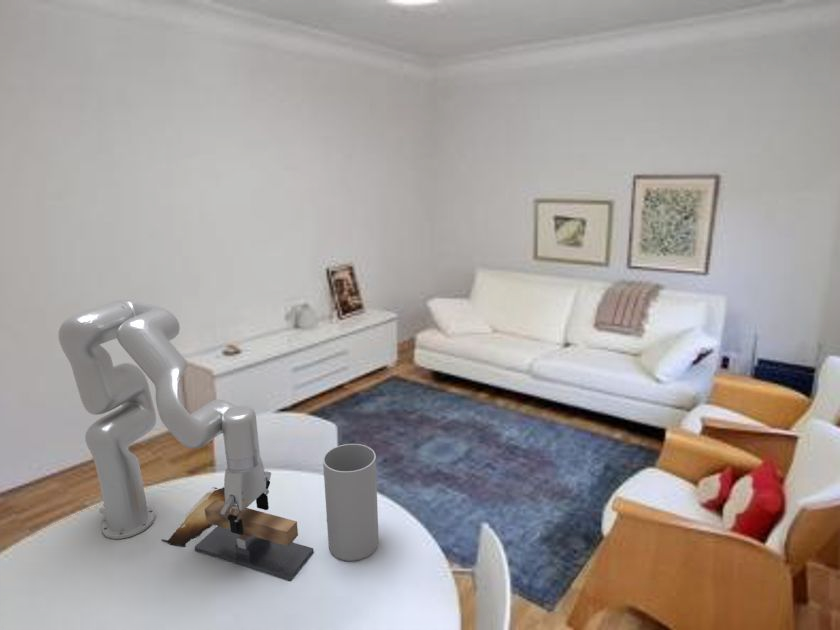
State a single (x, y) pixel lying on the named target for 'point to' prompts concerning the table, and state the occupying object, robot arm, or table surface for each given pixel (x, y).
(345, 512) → the cylinder vase
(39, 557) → the table surface
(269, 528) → the walnut bar
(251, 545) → the stand
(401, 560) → the table surface
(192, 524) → the parchment
